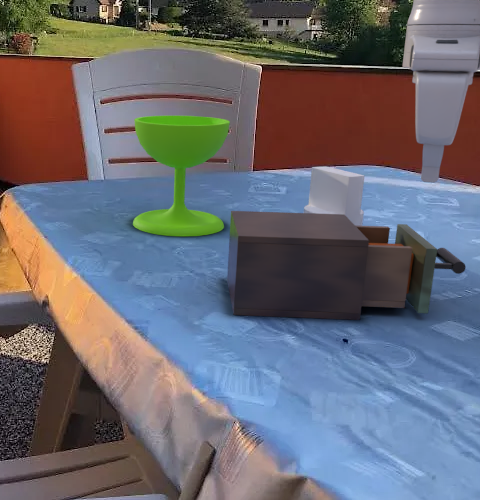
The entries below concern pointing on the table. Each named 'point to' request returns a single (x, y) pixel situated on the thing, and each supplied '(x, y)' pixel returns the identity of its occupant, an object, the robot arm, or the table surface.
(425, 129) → the robot arm
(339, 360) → the table surface
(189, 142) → the wineglass
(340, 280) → the cabinet
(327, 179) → the base with upright slab
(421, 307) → the drawer
